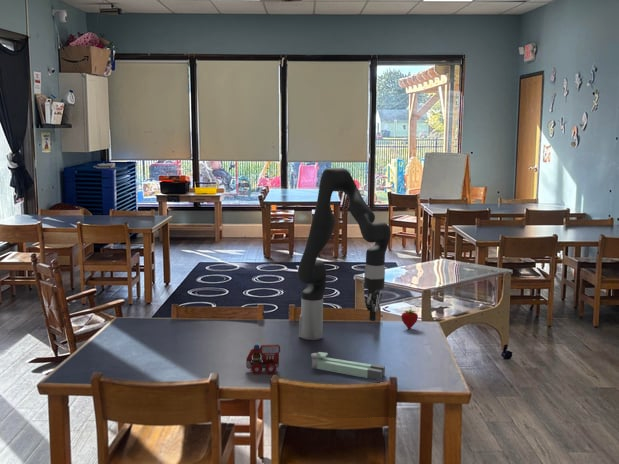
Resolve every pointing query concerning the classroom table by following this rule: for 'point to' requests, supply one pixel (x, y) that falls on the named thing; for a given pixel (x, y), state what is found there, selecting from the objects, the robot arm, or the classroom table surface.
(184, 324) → the classroom table surface
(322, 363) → the bar
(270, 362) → the toy fire truck
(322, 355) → the tongs arm
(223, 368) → the classroom table surface
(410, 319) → the strawberry
